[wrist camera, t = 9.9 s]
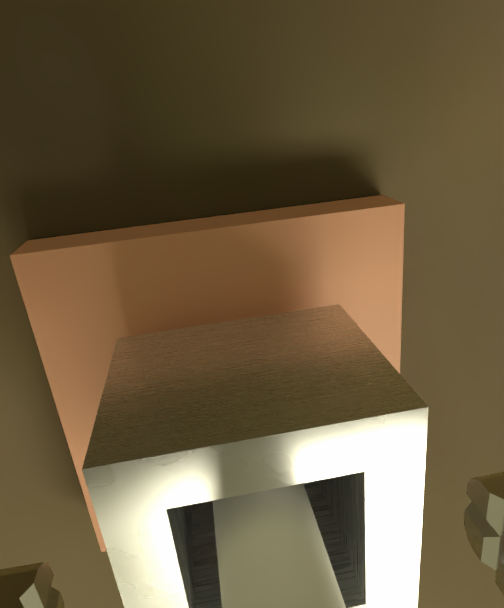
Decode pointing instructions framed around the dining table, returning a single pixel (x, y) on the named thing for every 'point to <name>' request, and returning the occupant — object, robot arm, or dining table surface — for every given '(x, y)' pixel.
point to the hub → (257, 453)
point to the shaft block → (207, 310)
